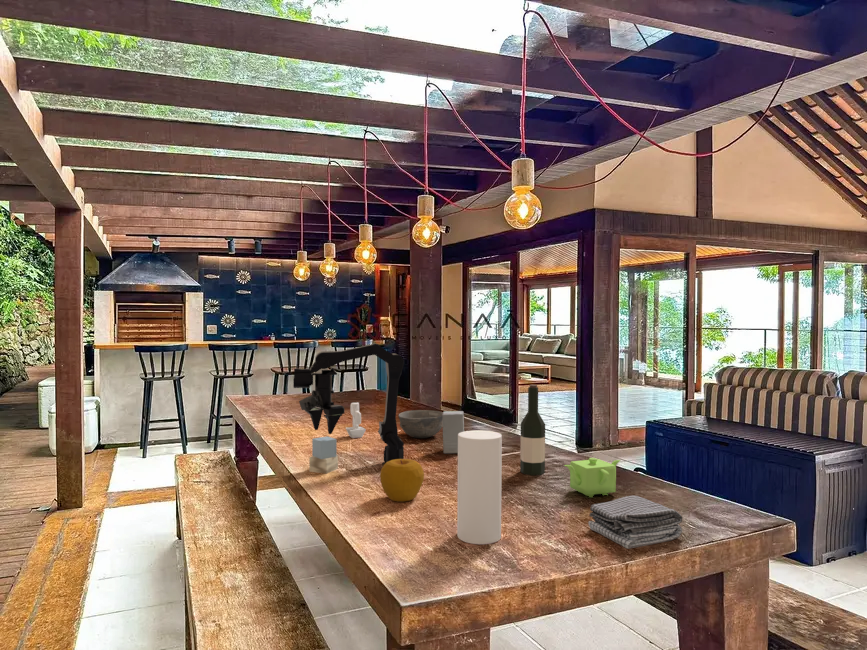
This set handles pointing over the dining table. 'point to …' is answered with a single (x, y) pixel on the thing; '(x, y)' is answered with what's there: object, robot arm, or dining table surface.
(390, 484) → the apple
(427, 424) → the bowl
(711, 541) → the dining table surface
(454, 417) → the skincare box
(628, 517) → the towel
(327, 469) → the birch block
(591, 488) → the teapot
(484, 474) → the tall pillar cylinder
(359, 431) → the figurine
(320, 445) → the blue cube
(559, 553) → the dining table surface
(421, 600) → the dining table surface
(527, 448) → the wine bottle
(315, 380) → the robot arm
